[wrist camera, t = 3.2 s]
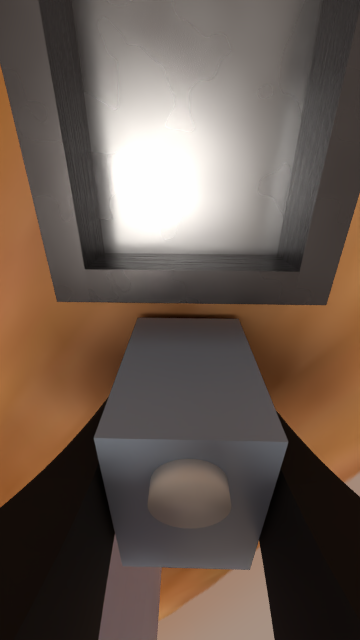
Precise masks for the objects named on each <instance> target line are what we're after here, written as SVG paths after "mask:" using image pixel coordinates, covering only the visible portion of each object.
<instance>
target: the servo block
mask: <svg viewBox="0 0 360 640" xmlns="http://www.w3.org/2000/svg"><path fill="white" fill-rule="evenodd" d="M94 442H95V446H96V451H97V455H98V460H99V464H100V469H101V473H102V477H103V482H104V486H105V491H106V495H107V500H108V504H109V509H110V513H111V518H112V522H113V526H114V531H115V535H116V540H117V544H118V549H119V553H120V558H121V562H122V566H132V567H168V568H204V569H241V570H250V567H251V564H252V560H253V558H254V554H255V551H256V548H257V544H258V541H259V538H260V534H261V531H262V528H263V524H264V521H265V518H266V515H267V511H268V508H269V505H270V501H271V498H272V495H273V491H274V488H275V485H276V482H277V478H278V475H279V472H280V468H281V465H282V462H283V458H284V455H285V452H286V449H287V445H288V440H287V437H286V435H285V432H284V430H283V427H282V425H281V422H280V420H279V417H278V415H277V413H276V410H275V408H274V405H273V403H272V400H271V398H270V395H269V393H268V390H267V388H266V385H265V383H264V380H263V378H262V376H261V373H260V371H259V368H258V366H257V363H256V361H255V358H254V356H253V353H252V351H251V348H250V346H249V343H248V341H247V339H246V336H245V334H244V331H243V329H242V326H241V324H240V321H239V319H204V318H138V319H137V321H136V324H135V327H134V330H133V332H132V335H131V338H130V340H129V343H128V346H127V349H126V351H125V354H124V357H123V359H122V362H121V365H120V368H119V370H118V373H117V376H116V379H115V381H114V384H113V387H112V389H111V392H110V395H109V398H108V400H107V403H106V406H105V409H104V411H103V414H102V417H101V419H100V422H99V425H98V428H97V430H96V433H95V436H94Z"/></svg>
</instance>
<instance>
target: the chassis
mask: <svg viewBox="0 0 360 640" xmlns="http://www.w3.org/2000/svg"><path fill="white" fill-rule="evenodd" d="M0 64H1V68H2V72H3V76H4V80H5V85H6V89H7V93H8V97H9V101H10V106H11V110H12V114H13V118H14V122H15V127H16V131H17V135H18V139H19V143H20V148H21V152H22V156H23V160H24V164H25V169H26V173H27V177H28V181H29V185H30V190H31V194H32V198H33V202H34V206H35V211H36V215H37V219H38V223H39V227H40V232H41V236H42V240H43V244H44V248H45V253H46V257H47V261H48V265H49V269H50V274H51V278H52V282H53V286H54V290H55V295H56V299H57V302H122V303H200V304H278V305H326V304H327V301H328V297H329V294H330V291H331V287H332V284H333V280H334V277H335V274H336V270H337V267H338V264H339V260H340V257H341V254H342V250H343V247H344V243H345V240H346V237H347V233H348V230H349V227H350V223H351V220H352V217H353V213H354V210H355V206H356V203H357V200H358V196H359V193H360V0H0Z"/></svg>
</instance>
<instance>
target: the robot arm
mask: <svg viewBox="0 0 360 640" xmlns="http://www.w3.org/2000/svg"><path fill="white" fill-rule="evenodd" d="M108 398H109V397H108ZM108 398H107V399H106V401H105V402H104V403H103V405H102V406H101V407H100V408H99V410H98V411H97V412H96V413H95V415H94V416H93V417H92V418H91V419H90V421H89V422H88V423H87V424H86V425H85V427H84V428H83V429H82V430H81V431H80V432H79V433H78V434H77V436H76V437H75V438H74V439H73V440H72V441H71V442H70V443H69V444H68V445H67V447H66V448H65V449H64V450H63V451H62V452H61V453H60V454H59V455H58V456H57V457H56V458H55V459H54V460H53V461H52V462H51V463H50V464H49V465H48V466H47V467H46V468H45V469H44V470H43V471H41V472H40V473H39V474H38V475H37V476H36V477H35V478H34V479H33V480H32V481H31V482H29V483H28V484H27V485H26V486H25V487H24V488H23V489H22V490H21V491H19V492H18V493H17V494H16V495H15V496H14V497H12V498H11V499H10V500H9V501H8V502H7V503H5V504H4V505H3V506H2V507H1V508H0V640H157V629H158V615H159V599H160V583H161V568H162V567H132V566H122V562H121V558H120V553H119V549H118V544H117V540H116V535H115V531H114V526H113V522H112V518H111V513H110V509H109V504H108V500H107V495H106V491H105V486H104V482H103V477H102V473H101V469H100V464H99V460H98V455H97V451H96V446H95V442H94V436H95V433H96V430H97V428H98V425H99V422H100V419H101V417H102V414H103V411H104V409H105V406H106V403H107V400H108ZM276 413H277V415H278V417H279V420H280V422H281V425H282V427H283V430H284V432H285V435H286V437H287V440H288V445H287V449H286V452H285V455H284V458H283V462H282V465H281V468H280V472H279V475H278V478H277V482H276V485H275V488H274V491H273V495H272V498H271V501H270V505H269V508H268V511H267V515H266V518H265V521H264V524H263V528H262V531H261V534H260V538H259V542H260V548H261V553H262V559H263V565H264V572H265V578H266V585H267V591H268V597H269V604H270V611H271V617H272V624H273V631H274V638H275V640H360V497H359V496H358V495H357V494H356V493H355V492H354V491H353V490H351V489H350V488H349V487H348V486H347V485H346V484H345V483H344V482H343V481H341V480H340V479H339V478H338V477H337V476H336V475H335V474H334V473H333V472H332V471H331V470H330V469H329V468H328V467H327V466H326V465H325V464H324V463H323V462H322V461H321V460H320V459H319V458H318V457H317V456H316V455H315V454H314V453H313V452H312V451H311V450H310V449H309V448H308V447H307V446H306V444H305V443H304V442H303V441H302V440H301V439H300V438H299V437H298V436H297V435H296V433H295V432H294V431H293V430H292V429H291V428H290V427H289V425H288V424H287V423H286V422H285V421H284V419H283V418H282V417H281V416H280V415H279V413H278V412H277V411H276Z"/></svg>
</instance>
